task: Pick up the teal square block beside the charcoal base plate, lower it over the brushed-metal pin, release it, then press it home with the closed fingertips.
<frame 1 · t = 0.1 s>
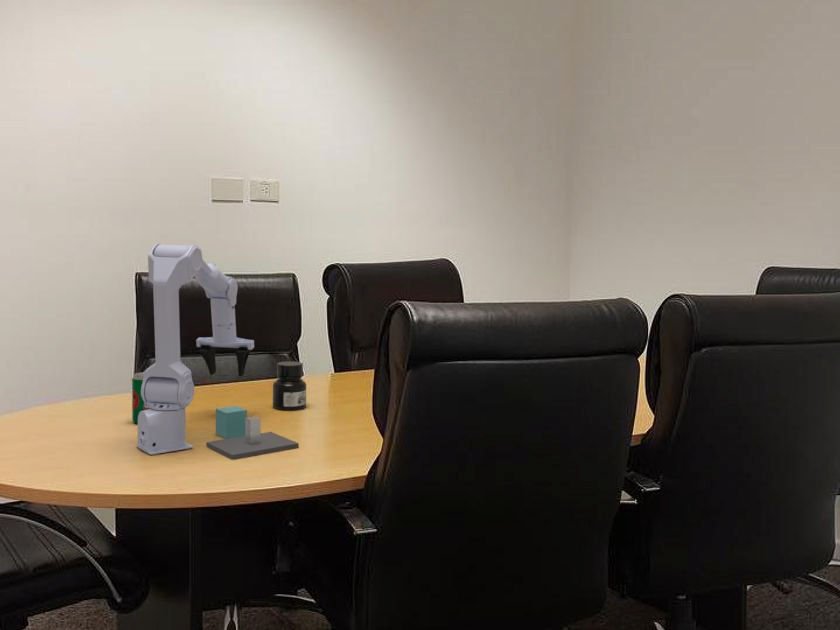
hand: (227, 374, 199), 11 cm above the table, tool pointing down, fingers open, 7 cm apart
ink bottle: (289, 408, 211), on the table
teal square block: (231, 434, 181), on the table
pin stand: (252, 447, 172), on the table
soda can: (143, 423, 190), on the table
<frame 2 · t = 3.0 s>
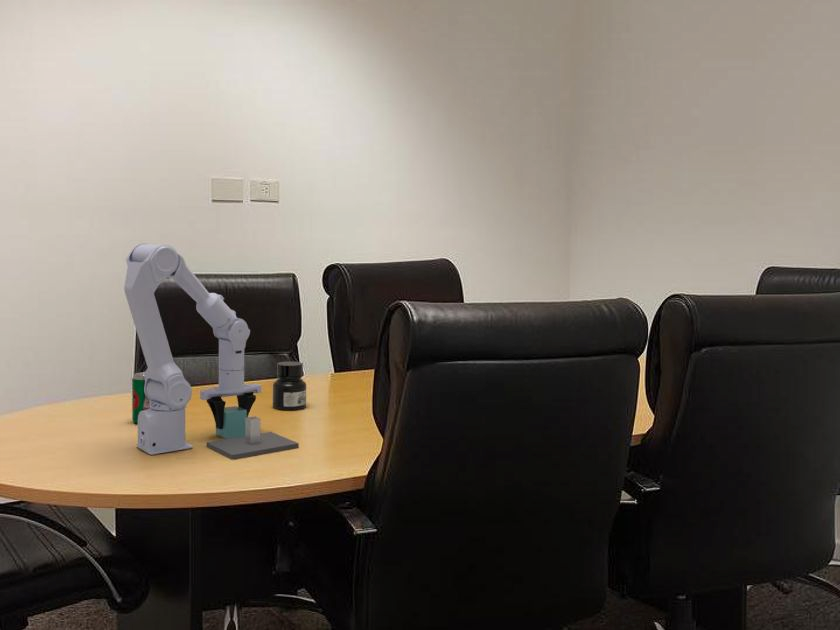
hand: (231, 426, 181), 2 cm above the table, tool pointing down, fingers closed on teal square block, 5 cm apart
teal square block: (231, 434, 181), on the table, touching gripper
everything else where it was.
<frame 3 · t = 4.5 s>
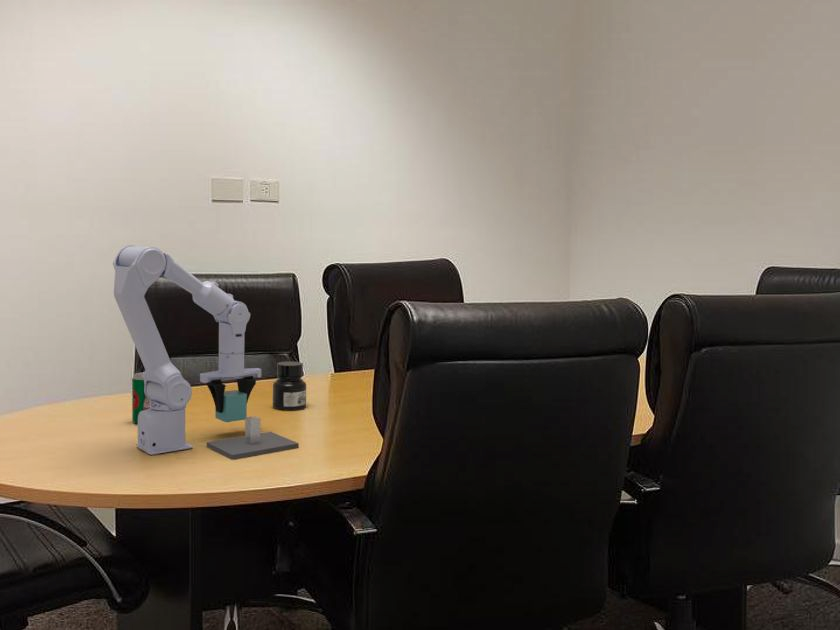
hand: (231, 410, 181), 6 cm above the table, tool pointing down, fingers closed on teal square block, 5 cm apart
teal square block: (230, 418, 181), point 4 cm above the table, touching gripper
everything else where it was.
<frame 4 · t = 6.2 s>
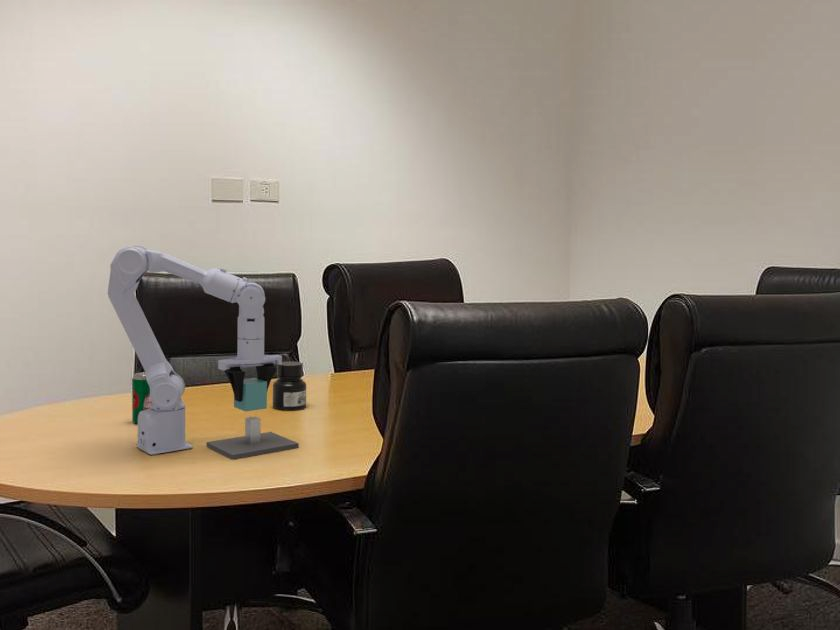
hand: (250, 399, 172), 10 cm above the table, tool pointing down, fingers closed on teal square block, 5 cm apart
teal square block: (250, 407, 172), point 9 cm above the table, touching gripper
everything else where it was.
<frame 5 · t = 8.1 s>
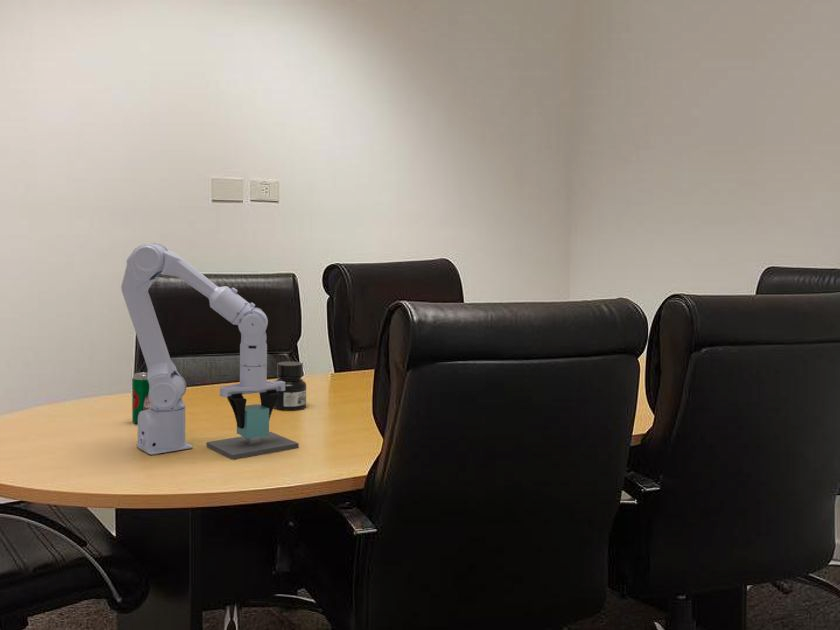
hand: (252, 425, 171), 5 cm above the table, tool pointing down, fingers closed on teal square block, 5 cm apart
teal square block: (252, 434, 172), point 3 cm above the table, touching gripper
everything else where it was.
when the fingers open (3 cm above the table, at t = 9.4 s): teal square block stays where it is, resting on pin stand.
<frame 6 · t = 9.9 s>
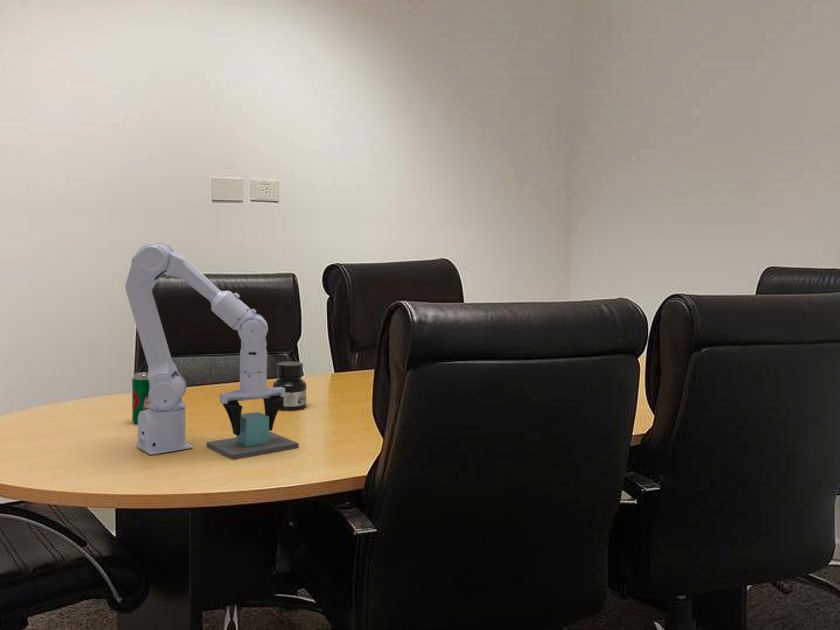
hand: (252, 432, 171), 3 cm above the table, tool pointing down, fingers open, 7 cm apart
teal square block: (252, 442, 172), point 1 cm above the table, touching pin stand
everything else where it was.
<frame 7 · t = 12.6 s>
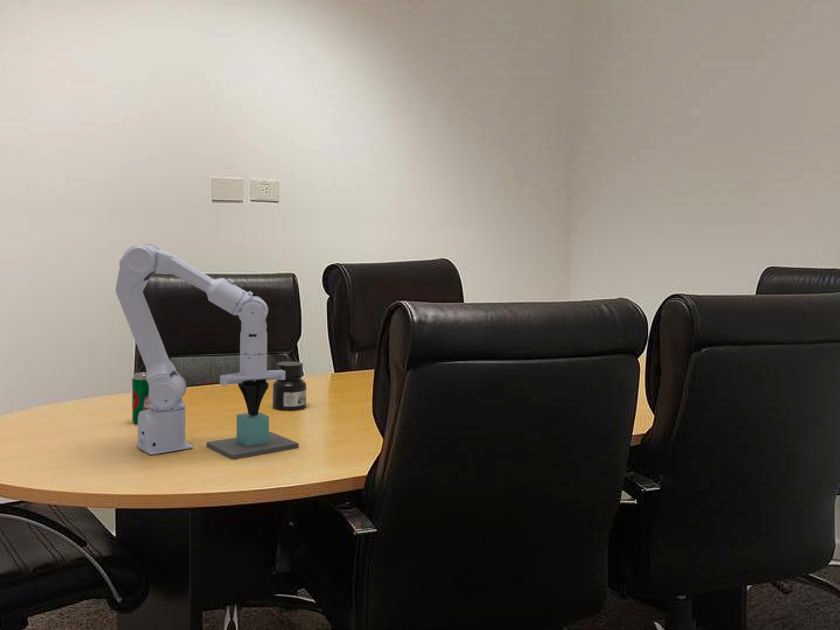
hand: (252, 414, 171), 7 cm above the table, tool pointing down, fingers closed
nothing on the table moved.
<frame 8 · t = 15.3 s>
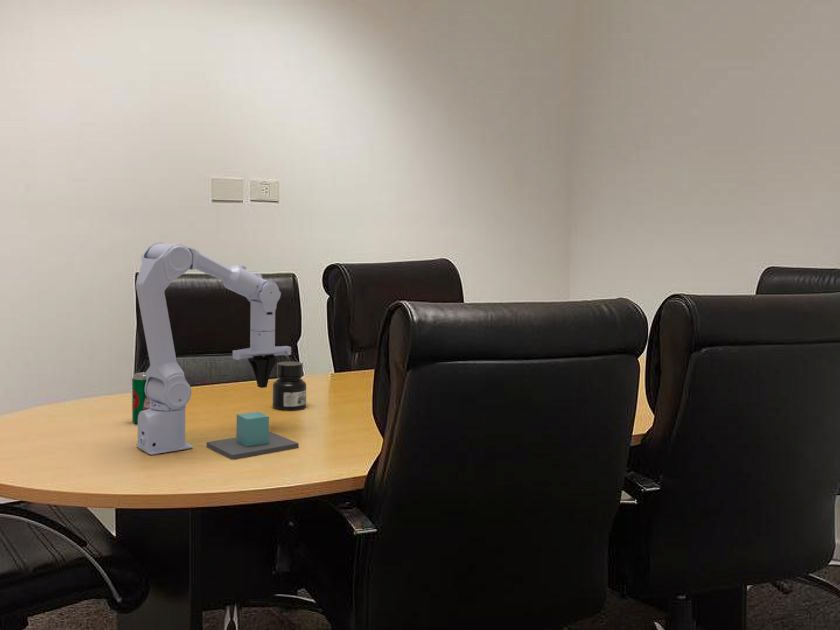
hand: (262, 387, 186), 10 cm above the table, tool pointing down, fingers closed
nothing on the table moved.
at the end: teal square block 0.1 cm from the pin stand (horizontally); teal square block point 1.1 cm above the table; teal square block tilted 0° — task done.
